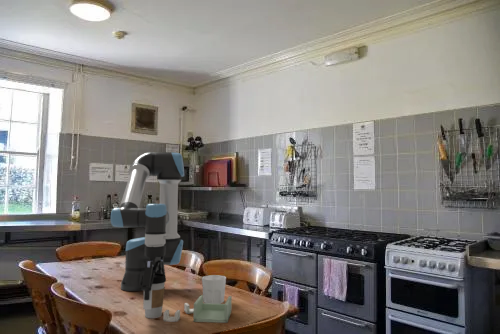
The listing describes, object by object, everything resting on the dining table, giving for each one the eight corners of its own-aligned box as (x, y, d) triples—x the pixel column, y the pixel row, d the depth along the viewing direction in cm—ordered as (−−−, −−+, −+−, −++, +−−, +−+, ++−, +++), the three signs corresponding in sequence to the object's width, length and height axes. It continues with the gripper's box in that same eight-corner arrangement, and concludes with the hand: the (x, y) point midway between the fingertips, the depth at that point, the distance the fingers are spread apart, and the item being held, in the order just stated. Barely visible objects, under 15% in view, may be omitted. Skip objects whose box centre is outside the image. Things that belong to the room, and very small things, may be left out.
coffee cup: (143, 312, 144) (145, 271, 145) (166, 311, 145) (167, 271, 146) (139, 319, 136) (140, 276, 137) (163, 319, 137) (164, 276, 138)
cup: (205, 306, 152) (205, 281, 153) (198, 300, 162) (199, 276, 162) (229, 303, 156) (229, 279, 157) (221, 297, 166) (221, 274, 166)
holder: (193, 321, 134) (193, 304, 135) (200, 311, 146) (200, 295, 147) (227, 322, 133) (227, 305, 134) (231, 312, 145) (231, 296, 146)
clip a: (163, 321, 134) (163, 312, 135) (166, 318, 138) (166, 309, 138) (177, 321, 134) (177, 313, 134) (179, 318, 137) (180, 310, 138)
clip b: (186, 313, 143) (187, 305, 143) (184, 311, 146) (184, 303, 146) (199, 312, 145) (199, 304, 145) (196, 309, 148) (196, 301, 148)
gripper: (154, 250, 130) (152, 314, 128) (174, 241, 154) (172, 295, 153) (132, 249, 130) (130, 313, 128) (156, 241, 155) (154, 294, 153)
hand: (153, 303), depth 141 cm, fingers open, 13 cm apart
